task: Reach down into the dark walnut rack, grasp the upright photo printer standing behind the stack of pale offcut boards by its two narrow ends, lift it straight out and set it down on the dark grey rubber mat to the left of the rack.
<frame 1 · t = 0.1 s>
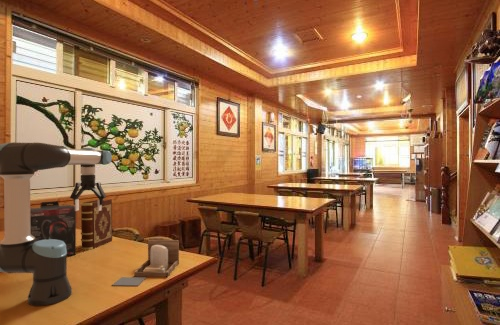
hand: (88, 210, 172), 28 cm above the table, fingers open, 13 cm apart
decorative book: (96, 245, 200), on the table
offcut stack: (154, 273, 148), resting in rack
headset box: (50, 257, 174), on the table
rack: (158, 269, 154), on the table
mat: (129, 281, 138), on the table
photo printer: (159, 268, 155), resting in rack
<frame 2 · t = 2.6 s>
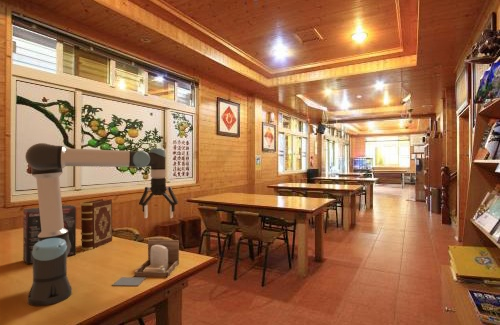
hand: (158, 217, 155), 27 cm above the table, fingers open, 13 cm apart
nothing on the table moved.
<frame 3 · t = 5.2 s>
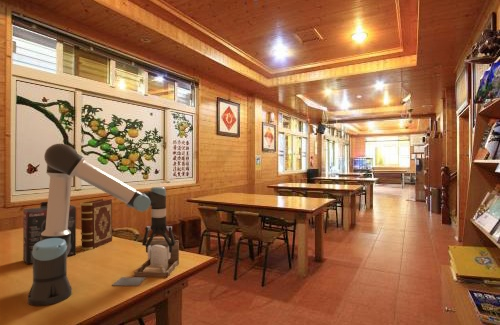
hand: (159, 258, 155), 5 cm above the table, fingers closed on photo printer, 10 cm apart
photo printer: (159, 268, 155), resting in rack, touching gripper
everything else where it was.
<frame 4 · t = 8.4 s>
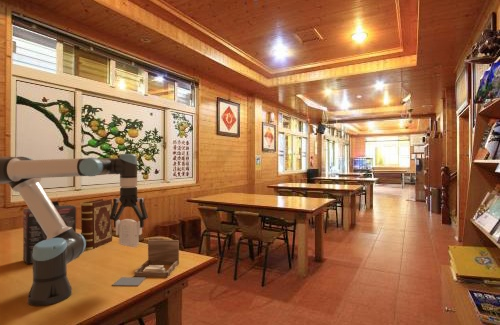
hand: (129, 234, 138), 22 cm above the table, fingers closed on photo printer, 10 cm apart
photo printer: (129, 245, 138), point 17 cm above the table, touching gripper
everything else where it was.
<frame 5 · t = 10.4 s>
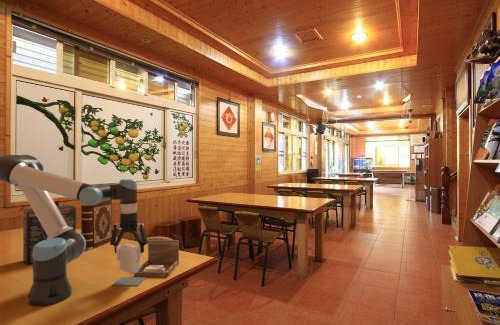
hand: (129, 259, 138), 10 cm above the table, fingers closed on photo printer, 10 cm apart
photo printer: (129, 271, 138), point 5 cm above the table, touching gripper
everything else where it was.
when the fingers open (7 cm above the table, at t = 11.8 s): photo printer moves 1 cm, resting on mat.
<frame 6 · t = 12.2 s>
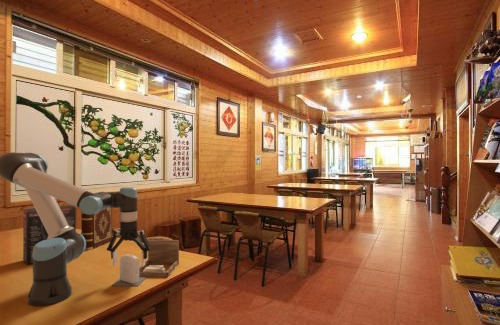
hand: (129, 265, 138), 8 cm above the table, fingers open, 13 cm apart
photo printer: (129, 281, 138), resting on mat
everything else where it was.
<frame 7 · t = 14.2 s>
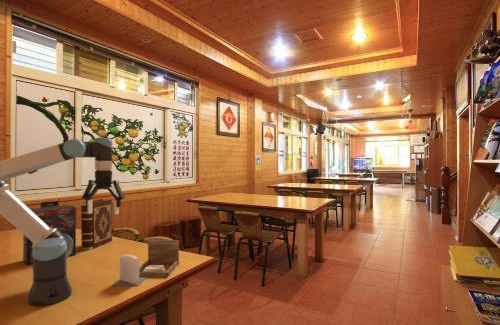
hand: (103, 213, 142), 31 cm above the table, fingers open, 13 cm apart
nothing on the table moved.
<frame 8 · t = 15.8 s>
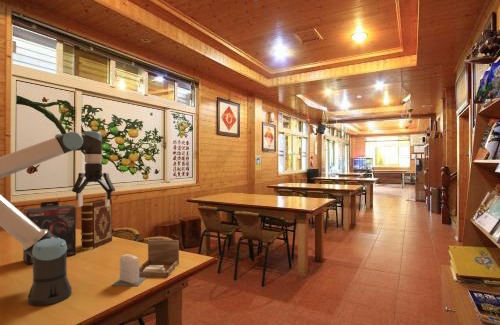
hand: (93, 206, 144), 35 cm above the table, fingers open, 13 cm apart
nothing on the table moved.
at the end: photo printer inside the target area on the mat (0.1 cm from its centre), point 0.2 cm above the mat's base; photo printer tilted 0°; the gripper is holding nothing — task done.
